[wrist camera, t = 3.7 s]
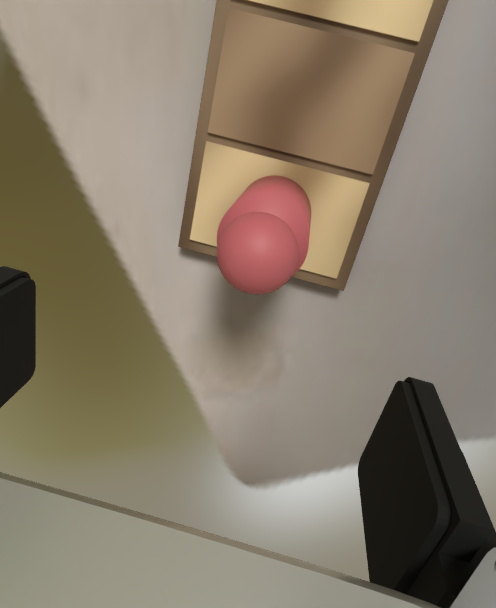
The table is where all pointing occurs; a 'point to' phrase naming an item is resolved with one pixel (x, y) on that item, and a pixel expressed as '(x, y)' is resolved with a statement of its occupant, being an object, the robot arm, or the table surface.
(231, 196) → the board
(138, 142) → the table surface
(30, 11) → the table surface
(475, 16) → the table surface
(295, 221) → the pawn
